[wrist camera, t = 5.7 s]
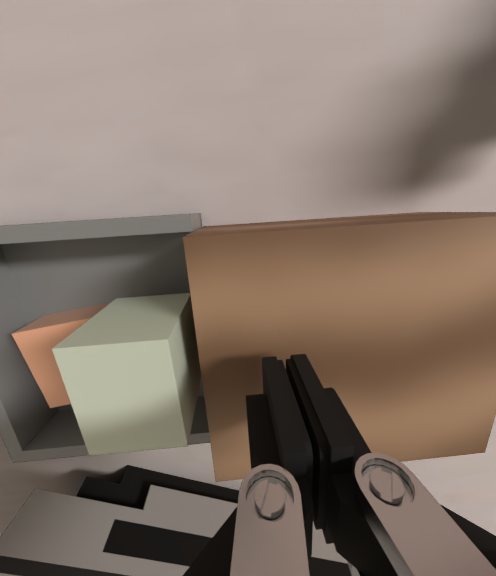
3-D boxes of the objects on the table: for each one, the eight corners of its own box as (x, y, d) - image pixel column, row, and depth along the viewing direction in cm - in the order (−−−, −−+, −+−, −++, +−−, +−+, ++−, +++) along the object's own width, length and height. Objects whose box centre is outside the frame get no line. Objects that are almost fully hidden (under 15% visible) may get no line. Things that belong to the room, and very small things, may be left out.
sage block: (187, 446, 10) (89, 455, 10) (202, 370, 15) (135, 376, 15) (168, 339, 9) (51, 348, 9) (191, 292, 14) (116, 298, 13)
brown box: (399, 371, 20) (484, 452, 13) (221, 387, 19) (215, 481, 12) (420, 212, 16) (552, 212, 10) (203, 226, 16) (182, 237, 9)
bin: (220, 396, 19) (218, 441, 16) (57, 412, 19) (12, 462, 15) (200, 213, 15) (190, 213, 12) (-8, 226, 15) (-91, 231, 11)
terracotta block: (50, 407, 15) (75, 381, 17) (132, 391, 15) (146, 366, 17) (11, 333, 13) (44, 315, 16) (103, 315, 13) (122, 300, 16)
